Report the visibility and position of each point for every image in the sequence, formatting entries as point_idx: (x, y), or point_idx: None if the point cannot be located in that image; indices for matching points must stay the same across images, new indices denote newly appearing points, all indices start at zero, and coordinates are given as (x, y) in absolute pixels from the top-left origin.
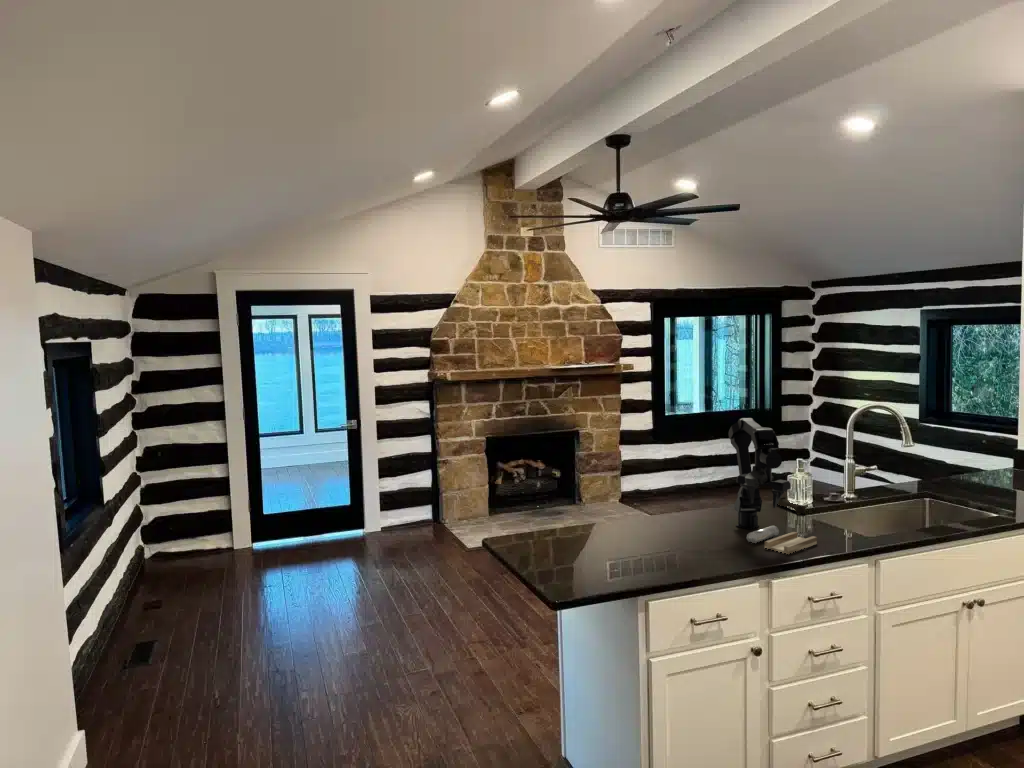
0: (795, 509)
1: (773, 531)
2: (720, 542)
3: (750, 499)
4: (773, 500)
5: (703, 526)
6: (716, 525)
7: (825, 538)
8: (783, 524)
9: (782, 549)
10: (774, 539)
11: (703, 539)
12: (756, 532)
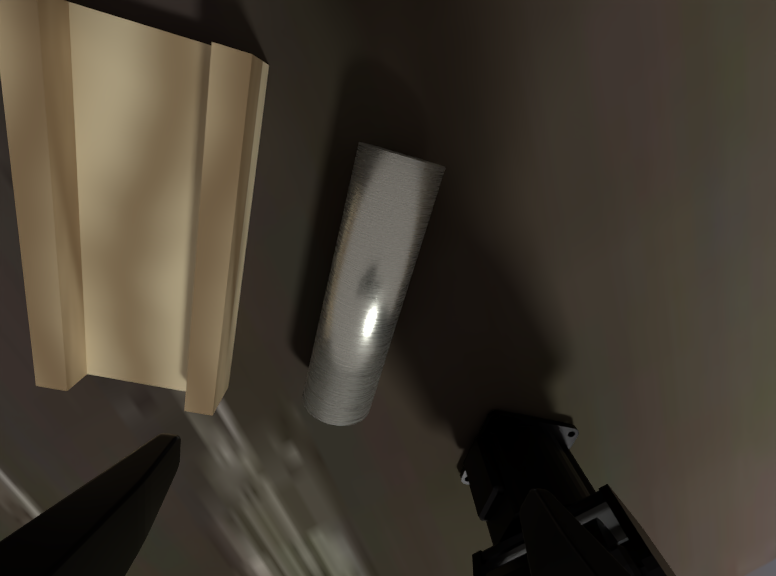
0: None
1: (314, 357)
2: (611, 36)
3: (575, 538)
4: (60, 546)
5: (753, 342)
6: (679, 394)
7: (102, 464)
8: (372, 551)
9: (100, 36)
10: (217, 170)
11: (748, 43)
12: (377, 203)
